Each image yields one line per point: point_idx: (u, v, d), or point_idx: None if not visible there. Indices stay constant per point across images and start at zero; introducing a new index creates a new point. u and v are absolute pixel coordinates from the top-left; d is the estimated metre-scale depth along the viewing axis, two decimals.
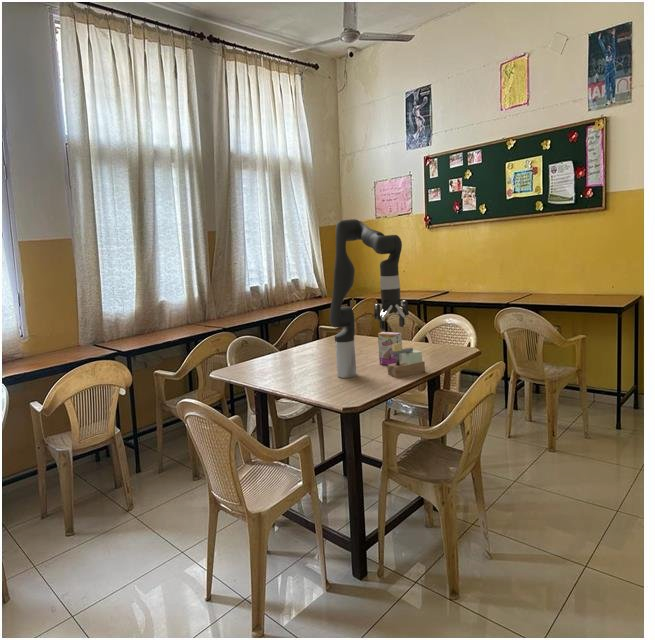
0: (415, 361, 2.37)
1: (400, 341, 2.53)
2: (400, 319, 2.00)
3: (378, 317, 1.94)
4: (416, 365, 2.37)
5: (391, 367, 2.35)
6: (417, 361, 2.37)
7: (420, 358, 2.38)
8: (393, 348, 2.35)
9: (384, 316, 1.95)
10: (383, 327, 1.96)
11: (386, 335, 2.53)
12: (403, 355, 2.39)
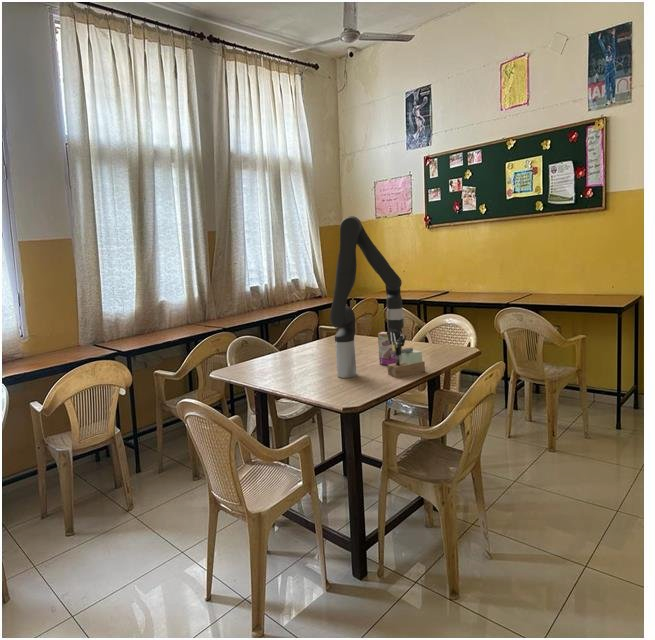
0: (415, 361, 2.37)
1: None
2: None
3: None
4: (416, 365, 2.37)
5: (391, 367, 2.35)
6: (417, 361, 2.37)
7: (420, 358, 2.38)
8: (393, 348, 2.35)
9: None
10: (400, 352, 2.34)
11: (386, 335, 2.53)
12: (403, 355, 2.39)
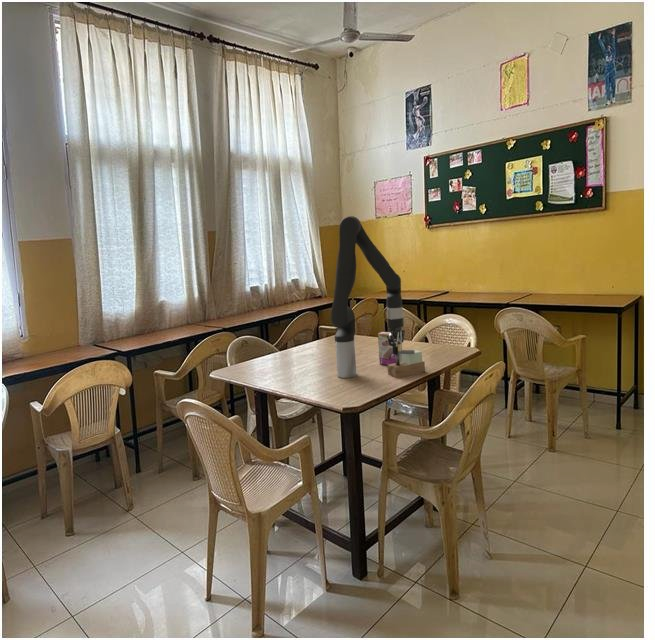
0: (415, 361, 2.37)
1: None
2: None
3: (394, 344, 2.31)
4: (416, 365, 2.37)
5: (391, 367, 2.35)
6: (417, 361, 2.37)
7: (420, 358, 2.38)
8: None
9: (396, 342, 2.32)
10: (396, 352, 2.33)
11: (386, 335, 2.53)
12: (403, 355, 2.39)
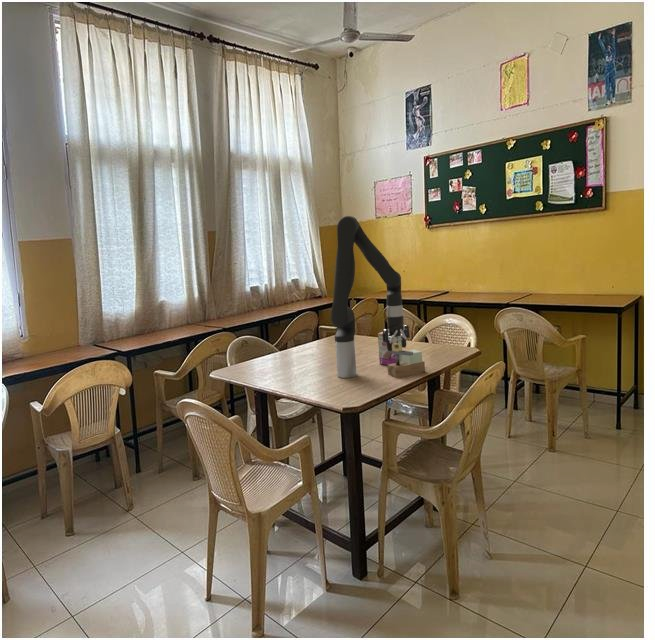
0: (415, 361, 2.37)
1: (400, 341, 2.53)
2: (402, 341, 2.37)
3: (387, 340, 2.30)
4: (416, 365, 2.37)
5: (391, 367, 2.35)
6: (417, 361, 2.37)
7: (420, 358, 2.38)
8: None
9: (391, 339, 2.31)
10: (390, 348, 2.32)
11: None
12: (403, 355, 2.39)
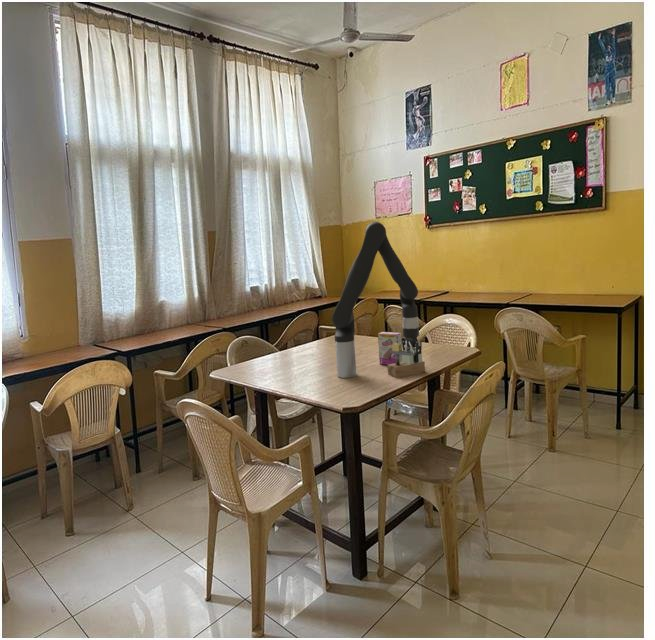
0: None
1: (400, 341, 2.53)
2: None
3: None
4: (416, 365, 2.37)
5: (391, 367, 2.35)
6: None
7: (420, 358, 2.38)
8: None
9: None
10: None
11: (386, 335, 2.53)
12: (403, 355, 2.39)
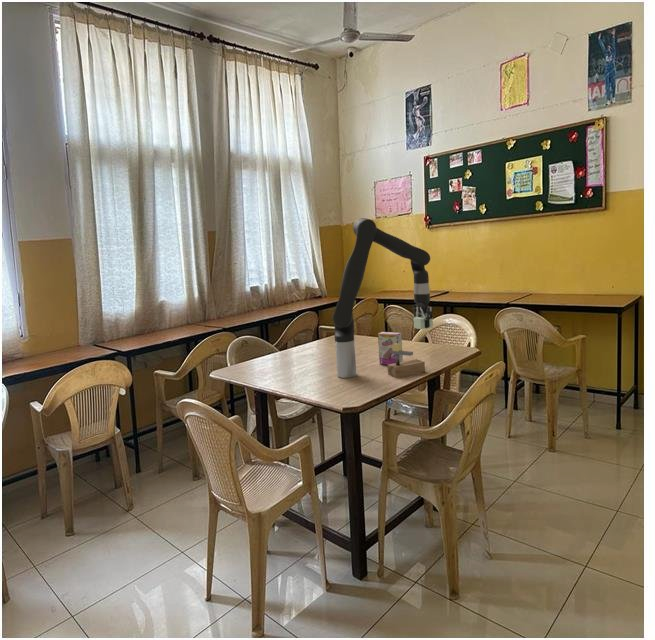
0: None
1: (400, 341, 2.53)
2: None
3: None
4: (416, 365, 2.37)
5: (391, 367, 2.35)
6: None
7: (431, 323, 2.44)
8: None
9: None
10: None
11: (386, 335, 2.53)
12: (414, 321, 2.46)
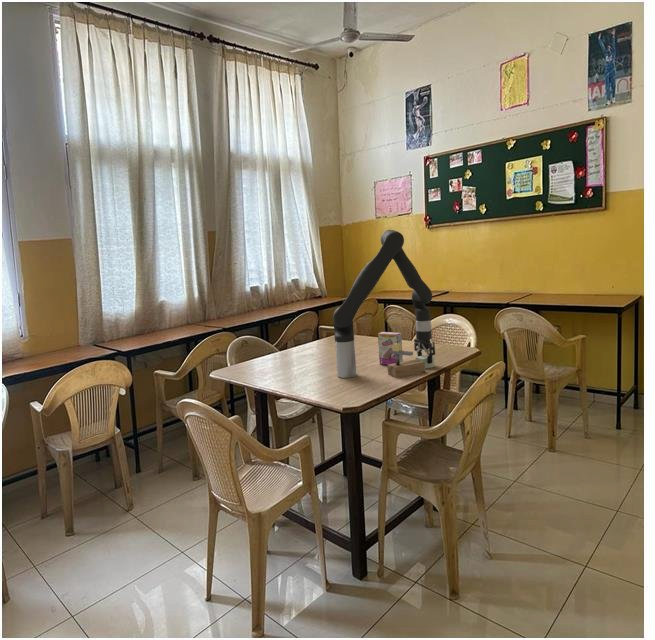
0: (428, 366, 2.46)
1: (400, 341, 2.53)
2: (420, 354, 2.52)
3: None
4: (416, 365, 2.37)
5: (391, 367, 2.35)
6: (430, 366, 2.47)
7: (433, 363, 2.47)
8: None
9: None
10: None
11: (386, 335, 2.53)
12: None
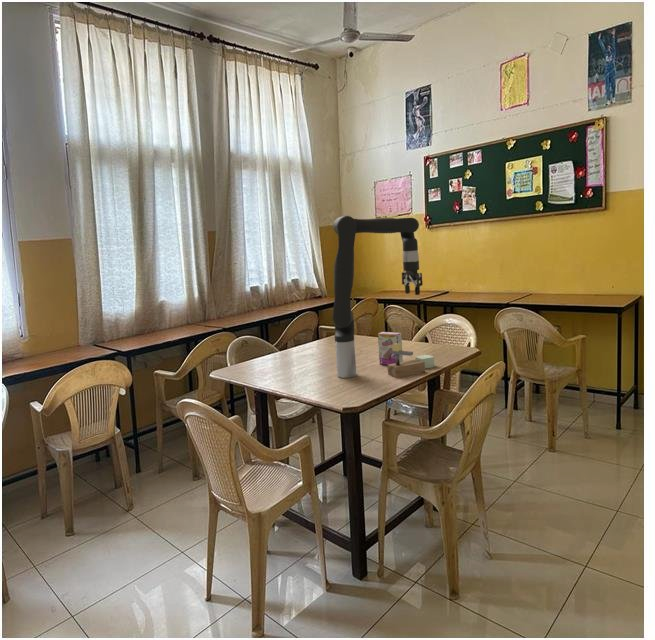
0: (428, 366, 2.46)
1: (400, 341, 2.53)
2: (407, 287, 2.47)
3: None
4: (416, 365, 2.37)
5: (391, 367, 2.35)
6: (430, 366, 2.47)
7: (432, 363, 2.47)
8: None
9: None
10: None
11: (386, 335, 2.53)
12: None
